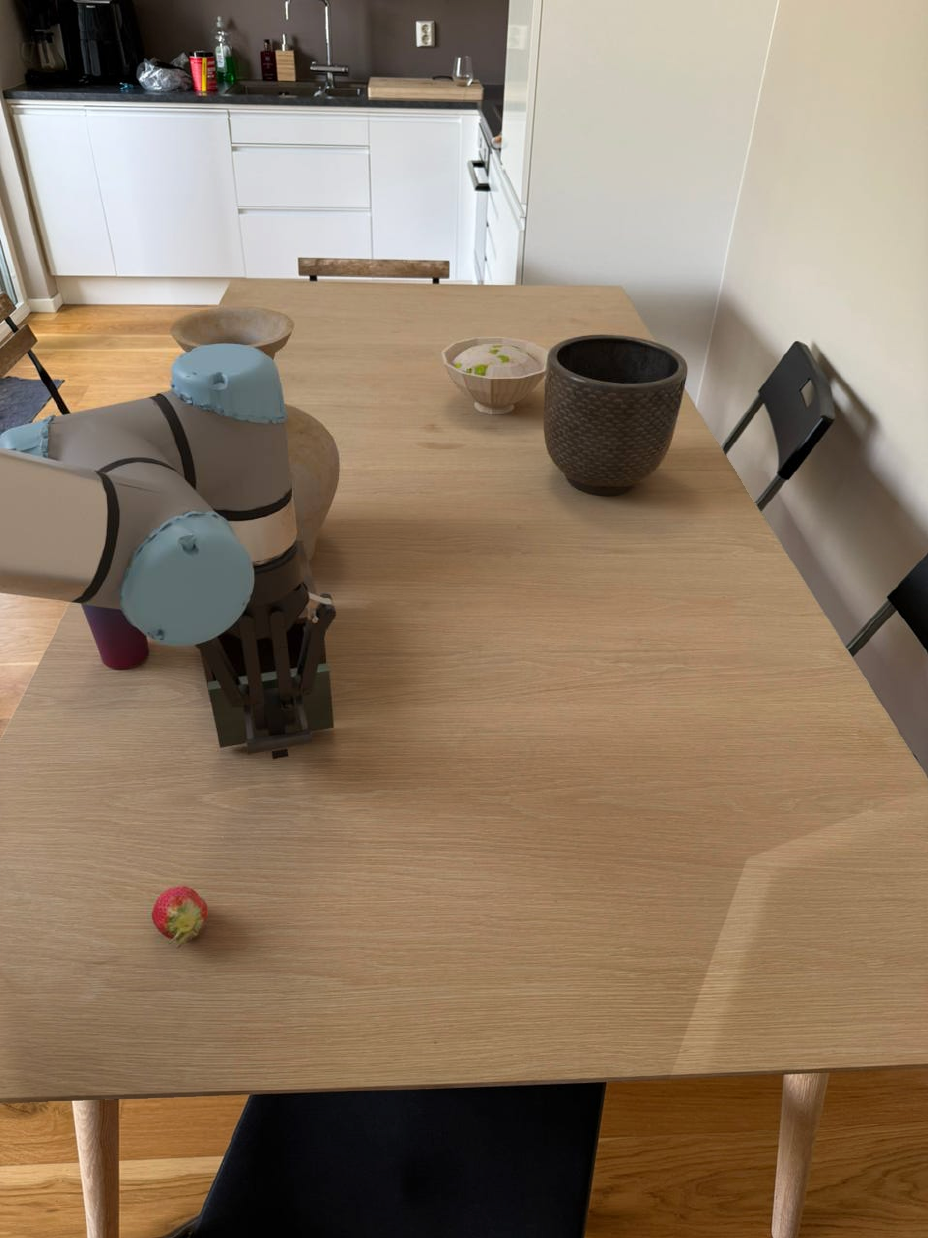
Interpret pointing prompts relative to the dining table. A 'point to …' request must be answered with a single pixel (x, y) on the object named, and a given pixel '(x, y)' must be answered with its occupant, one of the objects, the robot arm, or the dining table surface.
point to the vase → (305, 435)
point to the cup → (116, 637)
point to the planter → (611, 409)
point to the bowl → (495, 370)
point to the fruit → (180, 914)
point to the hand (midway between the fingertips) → (278, 748)
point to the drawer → (240, 721)
